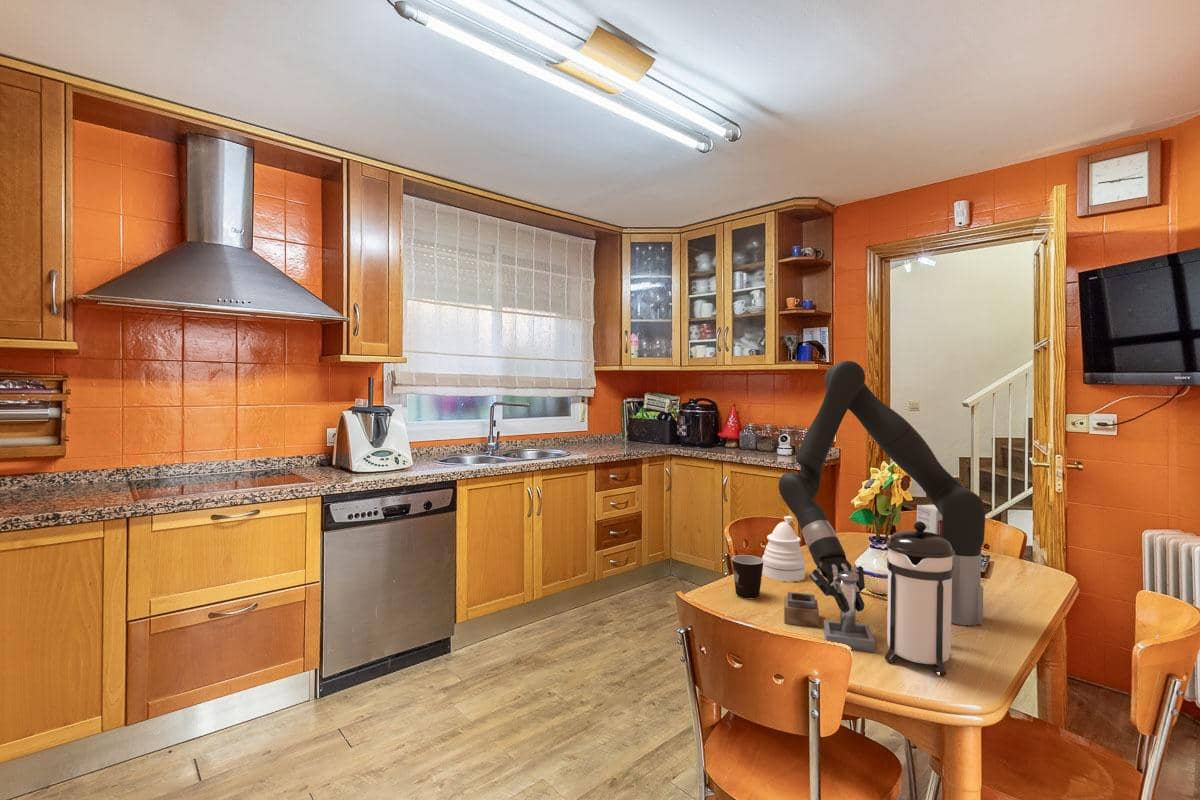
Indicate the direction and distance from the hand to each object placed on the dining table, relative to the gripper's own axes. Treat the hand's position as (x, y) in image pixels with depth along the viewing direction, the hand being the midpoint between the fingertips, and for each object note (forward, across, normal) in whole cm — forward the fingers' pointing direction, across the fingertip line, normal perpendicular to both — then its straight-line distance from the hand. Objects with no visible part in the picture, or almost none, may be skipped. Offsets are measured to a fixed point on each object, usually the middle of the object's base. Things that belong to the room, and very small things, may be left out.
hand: (853, 610), depth 132 cm
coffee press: (+12, +10, 0) cm, 15 cm away
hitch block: (-5, -4, +17) cm, 18 cm away
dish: (+4, 0, +7) cm, 8 cm away
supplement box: (-33, +74, +45) cm, 92 cm away
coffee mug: (-19, -8, +31) cm, 37 cm away
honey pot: (-28, +10, +39) cm, 49 cm away
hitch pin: (+2, 0, +5) cm, 6 cm away
